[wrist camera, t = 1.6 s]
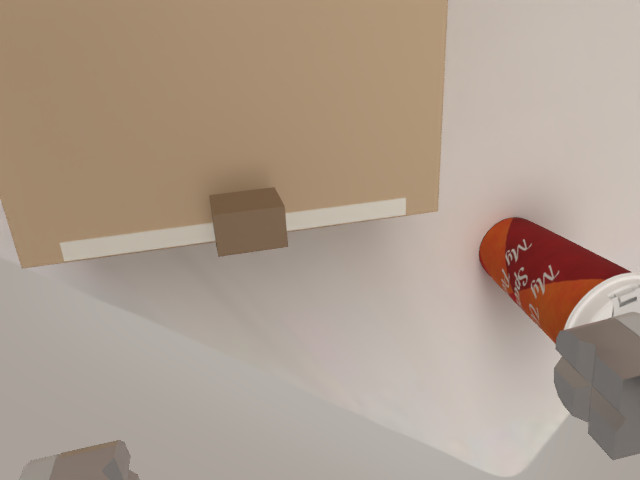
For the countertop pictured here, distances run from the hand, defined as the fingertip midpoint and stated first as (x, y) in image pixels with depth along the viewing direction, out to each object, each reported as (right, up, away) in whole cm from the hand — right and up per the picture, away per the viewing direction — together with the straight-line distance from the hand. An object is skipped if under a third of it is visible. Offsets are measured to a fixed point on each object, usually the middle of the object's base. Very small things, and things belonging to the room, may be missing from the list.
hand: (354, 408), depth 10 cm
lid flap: (-5, +13, +15) cm, 21 cm away
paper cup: (+15, +3, +37) cm, 40 cm away
